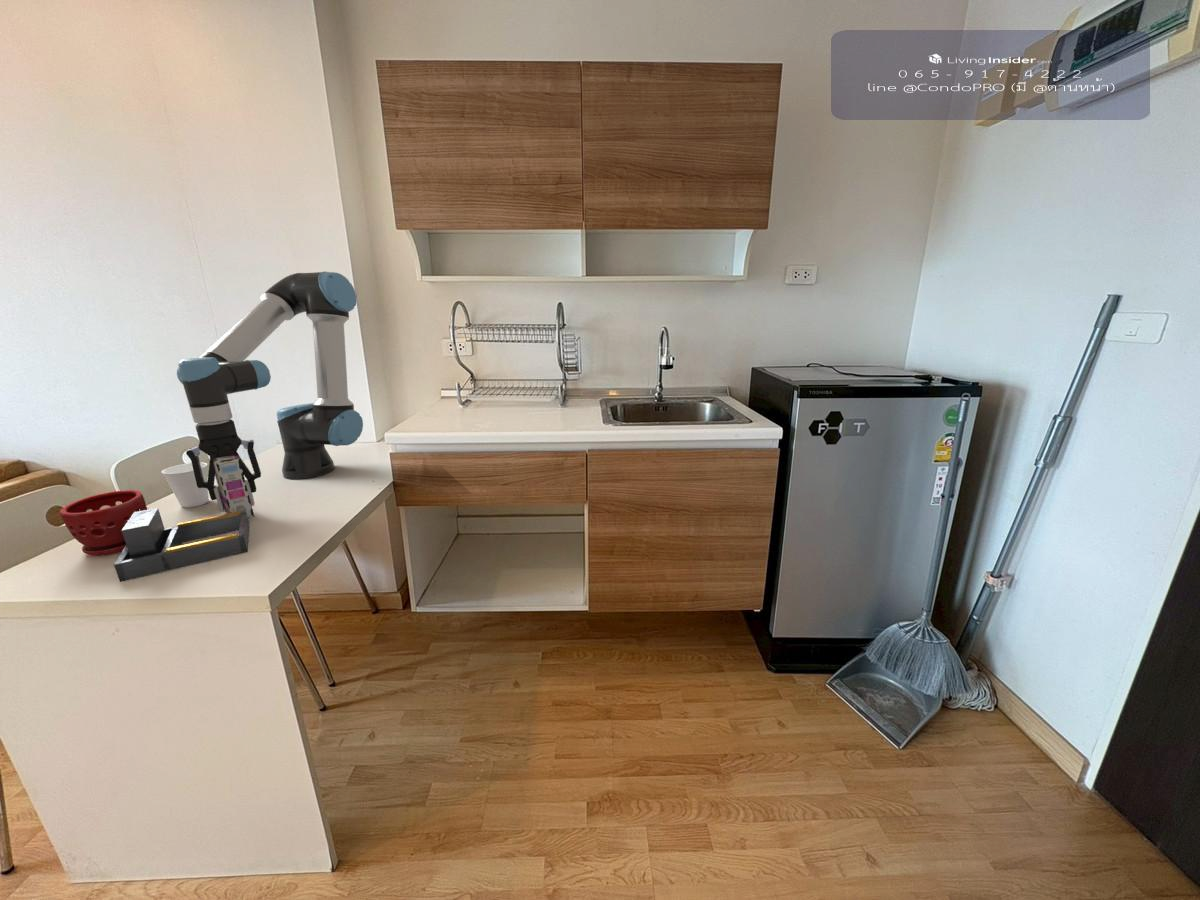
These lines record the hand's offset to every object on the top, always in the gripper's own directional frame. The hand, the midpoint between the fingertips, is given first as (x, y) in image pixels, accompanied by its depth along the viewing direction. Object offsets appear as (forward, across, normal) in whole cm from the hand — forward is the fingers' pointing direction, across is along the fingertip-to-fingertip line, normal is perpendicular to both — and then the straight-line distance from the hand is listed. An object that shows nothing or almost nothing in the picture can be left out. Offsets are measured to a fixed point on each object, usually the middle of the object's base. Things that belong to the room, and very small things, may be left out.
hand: (237, 506), depth 122 cm
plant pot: (+3, +23, +3) cm, 23 cm away
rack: (+3, +8, +15) cm, 18 cm away
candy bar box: (+2, 0, 0) cm, 2 cm away
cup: (+4, +11, -21) cm, 24 cm away
